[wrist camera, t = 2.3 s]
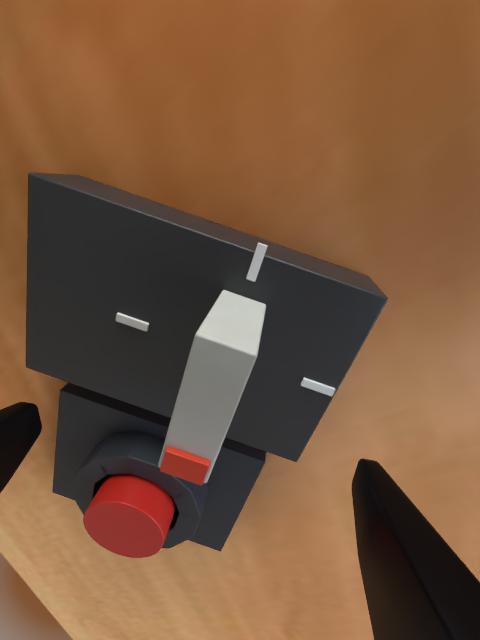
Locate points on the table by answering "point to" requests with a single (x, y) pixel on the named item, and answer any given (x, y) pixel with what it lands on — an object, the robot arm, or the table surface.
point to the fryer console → (183, 307)
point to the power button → (130, 516)
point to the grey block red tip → (212, 386)
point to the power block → (147, 464)
